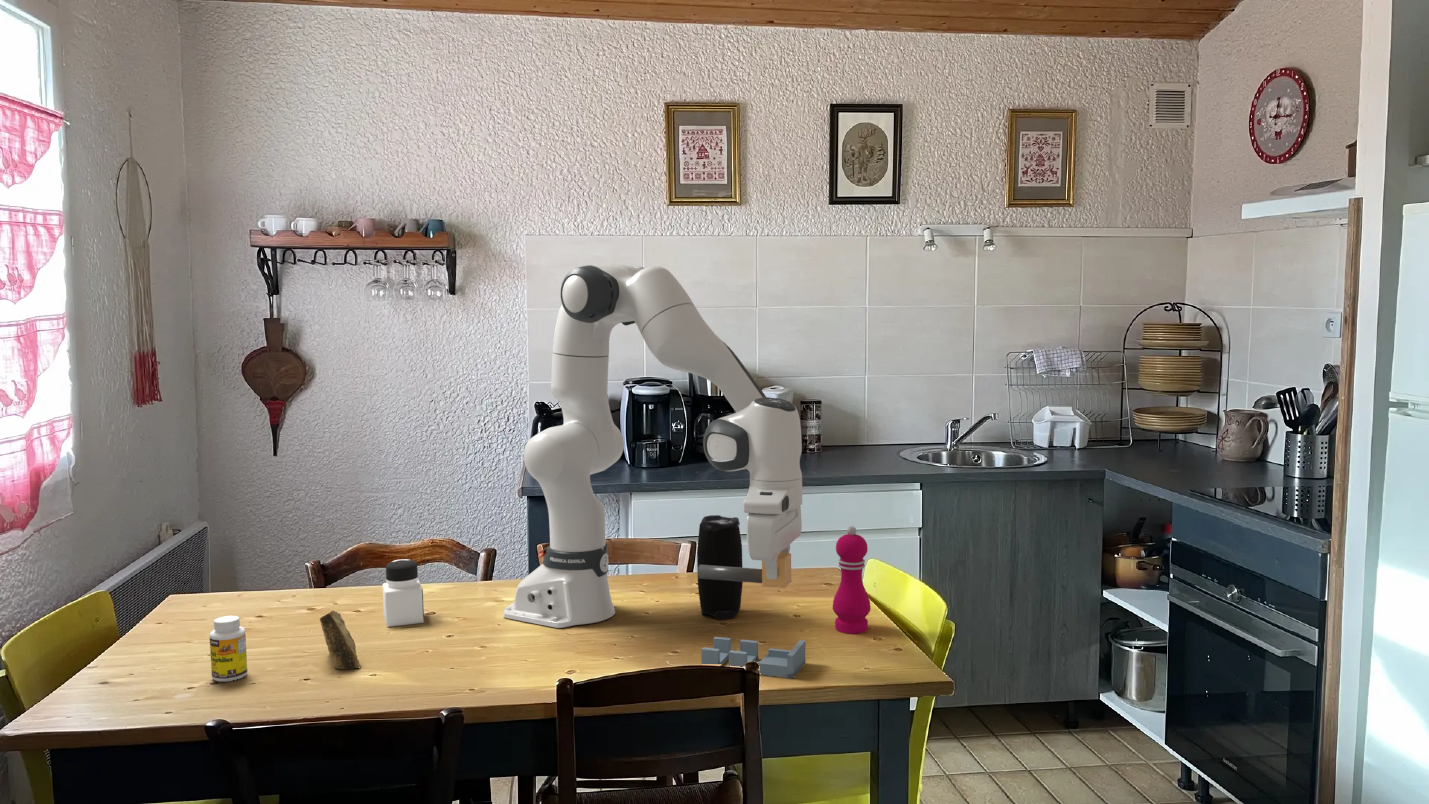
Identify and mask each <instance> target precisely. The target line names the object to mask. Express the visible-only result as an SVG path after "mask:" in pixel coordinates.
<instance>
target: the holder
mask: <svg viewBox="0 0 1429 804" xmlns="http://www.w3.org/2000/svg"><path fill="white" fill-rule="evenodd" d="M756 663H757V664H759V666H760V673H761V675H760V676H764V675H765V677H773V676H779V677H778V678H781V677H786V678H785V679H790V678H792V679H791V680H793V679H795V677H796V676H797V675H796V674H799V672H800V671H801V669H802V668H803V667H804V666H803V665H806V640H803V639H800V640H799V641H798V642H797V643H796V644H795V645H794V646H793V648H792V649H791V650H789V649H788V650H787V649H780V648H768V649H767V654H766V655H765V656H764V657H763V658H762V659H761V660H760V661H758V660H756V662H755V664H756ZM766 675H768V676H766ZM794 676H795V677H794Z"/></svg>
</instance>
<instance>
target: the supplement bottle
mask: <svg viewBox="0 0 1429 804" xmlns="http://www.w3.org/2000/svg"><path fill="white" fill-rule="evenodd" d="M246 638H247V637H246V629H245V628H244V627H243V626H241V621H240V616H237V615H224V616H219V617H218V618H215V619H214V620H213V630H212V631H211V632H210V633H209V653H210V665H211V666H210V667H211V668H210V669H211V677H212V679H213V680H214V681H215V682H233V680H234V681H238V680H240V679H242V678H244V677H245V676H246V675H247V673H248V660H247V659H248V656H247V641H246V640H247V639H246ZM237 679H238V680H237Z"/></svg>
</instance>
